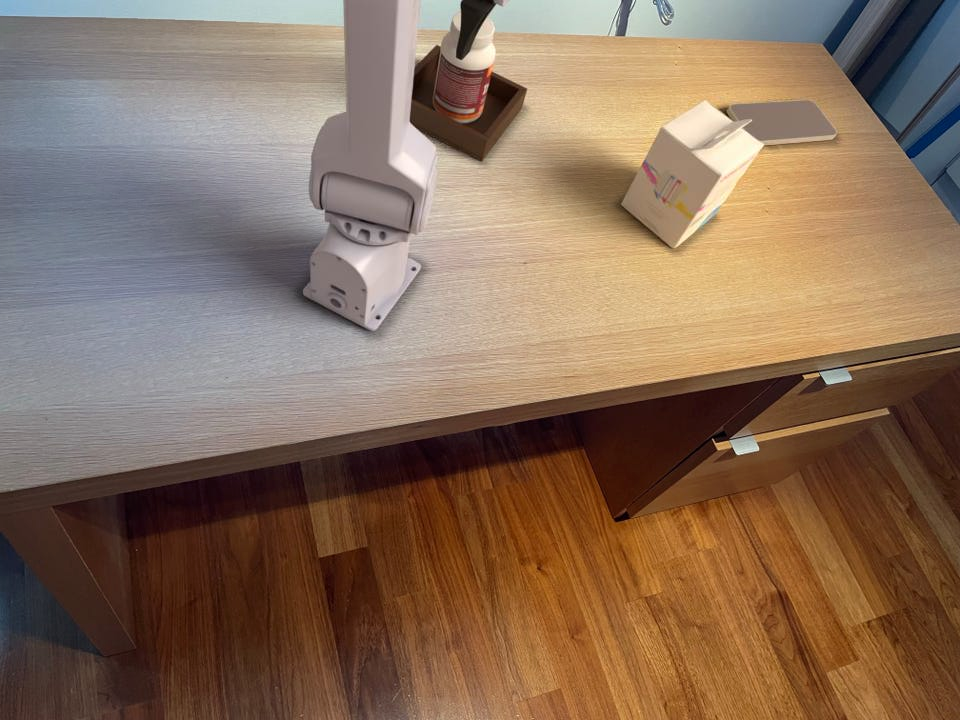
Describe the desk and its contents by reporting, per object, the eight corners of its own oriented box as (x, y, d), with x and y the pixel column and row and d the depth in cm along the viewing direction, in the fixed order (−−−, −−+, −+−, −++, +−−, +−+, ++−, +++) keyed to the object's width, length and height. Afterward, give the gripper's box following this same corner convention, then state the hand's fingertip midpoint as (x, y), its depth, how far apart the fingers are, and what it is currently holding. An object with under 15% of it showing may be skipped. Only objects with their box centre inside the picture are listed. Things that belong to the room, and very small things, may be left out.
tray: (481, 161, 79) (487, 141, 76) (387, 114, 80) (389, 93, 77) (521, 108, 85) (527, 88, 83) (433, 65, 86) (436, 44, 84)
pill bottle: (487, 125, 81) (508, 43, 72) (437, 126, 80) (451, 41, 70) (476, 90, 84) (494, 7, 75) (427, 90, 83) (439, 4, 73)
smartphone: (840, 135, 94) (753, 142, 89) (836, 140, 94) (749, 147, 90) (812, 98, 97) (726, 103, 92) (808, 104, 98) (723, 109, 93)
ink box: (660, 175, 84) (712, 82, 72) (713, 218, 81) (775, 129, 70) (618, 205, 80) (666, 111, 68) (673, 251, 77) (732, 162, 66)
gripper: (540, -83, 62) (507, 50, 74) (402, -147, 63) (390, -7, 75) (508, -52, 58) (478, 83, 70) (362, -121, 60) (356, 22, 71)
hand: (431, 39), depth 72 cm, fingers open, 7 cm apart
